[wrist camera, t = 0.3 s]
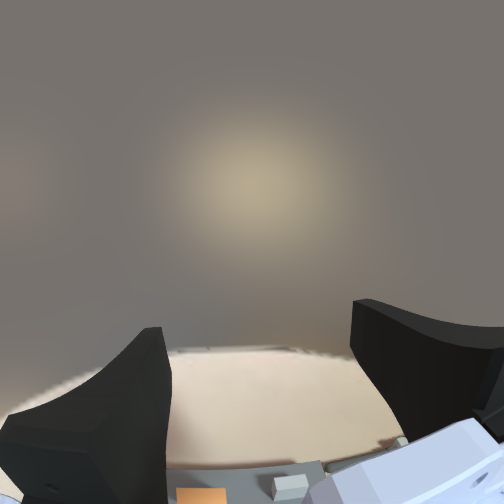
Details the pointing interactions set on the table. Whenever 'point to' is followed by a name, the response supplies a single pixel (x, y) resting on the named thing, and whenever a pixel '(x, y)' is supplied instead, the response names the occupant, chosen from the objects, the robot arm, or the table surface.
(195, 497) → the orange rectangular block
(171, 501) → the power strip
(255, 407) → the table surface
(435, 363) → the robot arm
